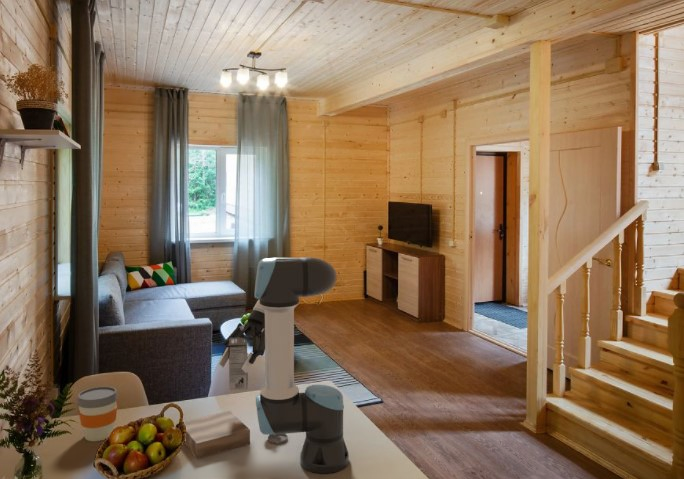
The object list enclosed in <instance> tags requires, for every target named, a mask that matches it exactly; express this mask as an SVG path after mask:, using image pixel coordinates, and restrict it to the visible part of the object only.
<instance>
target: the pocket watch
mask: <svg viewBox="0 0 684 479" xmlns="http://www.w3.org/2000/svg"><path fill="white" fill-rule="evenodd" d="M288 436H289V435H287V434H277V435H274V434H272V435H268V436H267V440H268V441H269V443H272V444H281V443H285V442H286V441H287V440H288Z"/></svg>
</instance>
